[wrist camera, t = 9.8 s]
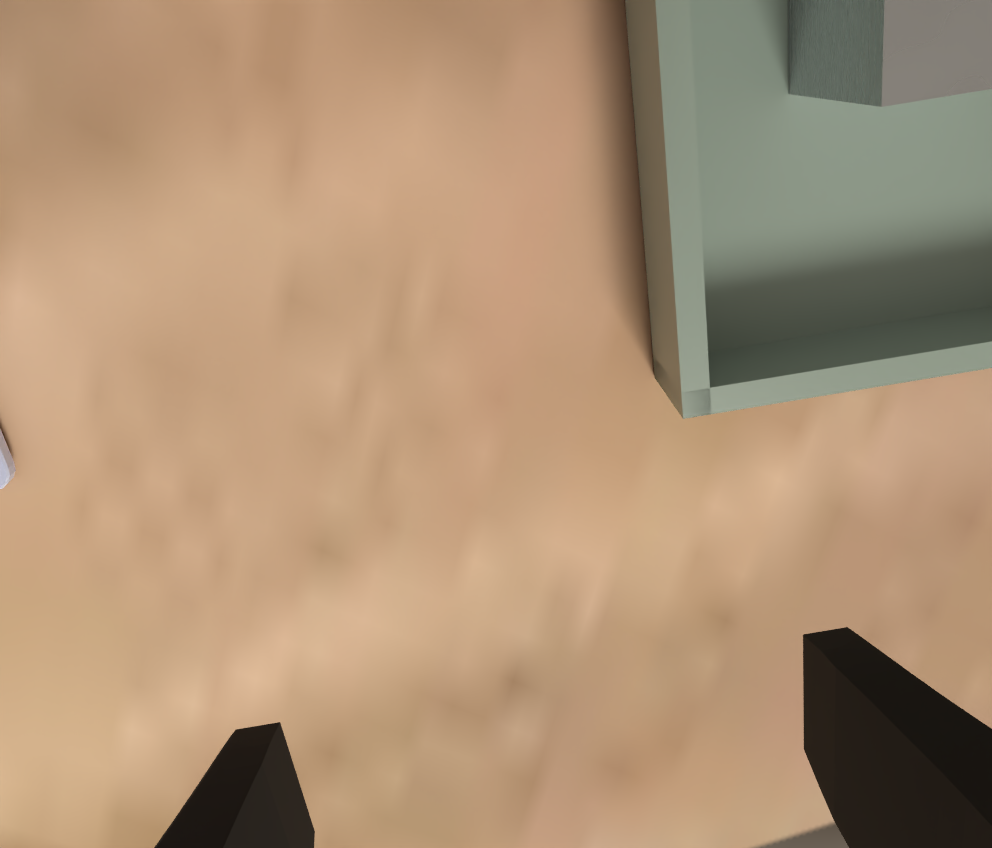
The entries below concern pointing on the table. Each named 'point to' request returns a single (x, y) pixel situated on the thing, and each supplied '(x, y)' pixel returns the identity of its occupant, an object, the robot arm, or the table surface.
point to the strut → (888, 49)
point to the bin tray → (800, 218)
